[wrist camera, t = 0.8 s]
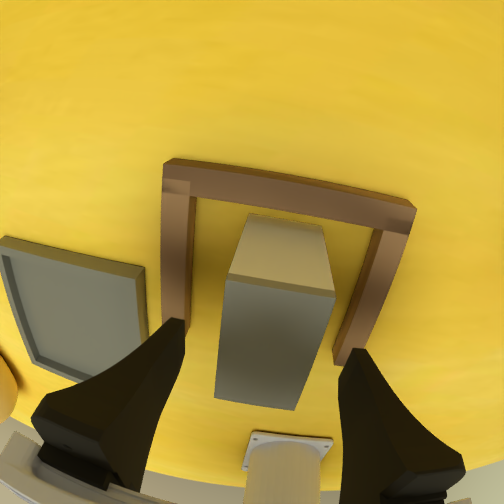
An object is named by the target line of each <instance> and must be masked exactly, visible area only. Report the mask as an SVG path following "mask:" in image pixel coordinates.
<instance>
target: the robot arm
mask: <svg viewBox="0 0 504 504" xmlns="http://www.w3.org/2000/svg"><path fill="white" fill-rule="evenodd" d="M184 355H185V320H183V319H179V318H174V317H171V318H169V319H168V320H167V321H166V322H165V323H164V324H163V325H162V326H161V327H160V328H159V329H158V330H157V331H156V332H155V333H154V334H153V335H151V336H150V337H149V338H148V339H147V340H146V341H145V342H143V343H142V344H141V345H140V346H139V347H138V348H136V349H135V350H134V351H132V352H131V353H130V354H129V355H127V356H126V357H125V358H123V359H122V360H120V361H119V362H118V363H116V364H114V365H113V366H111V367H110V368H108V369H106V370H105V371H103V372H101V373H99V374H98V375H96V376H94V377H92V378H90V379H88V380H85V381H83V382H81V383H78V384H76V385H74V386H71V387H68V388H65V389H62V390H59V391H55V392H52V393H48V394H46V396H45V397H44V398H43V399H42V400H41V402H40V404H39V405H38V407H37V408H36V410H35V412H34V413H33V415H32V416H31V422H32V424H33V426H34V428H35V429H36V431H37V432H38V433H39V435H40V436H41V438H42V439H43V440H44V444H43V445H42V447H41V446H40V445H38V444H37V443H36V442H34V441H32V440H31V439H29V438H27V437H25V436H24V435H22V434H20V433H18V432H17V431H14V433H13V434H12V436H11V438H10V439H9V441H8V443H7V445H6V446H5V448H4V449H3V451H2V453H1V455H0V482H1V483H2V484H3V485H5V487H7V488H8V489H9V490H11V491H12V492H13V493H14V494H16V495H17V496H19V497H20V498H22V499H23V500H25V501H26V502H28V503H29V504H176V503H172V502H169V501H165V500H161V499H158V498H154V497H151V496H148V495H144V494H141V493H140V488H141V484H142V480H143V475H144V471H145V467H146V463H147V459H148V455H149V451H150V448H151V444H152V441H153V437H154V434H155V430H156V427H157V424H158V421H159V418H160V415H161V413H162V410H163V408H164V406H165V404H166V401H167V399H168V397H169V395H170V392H171V390H172V388H173V386H174V383H175V381H176V379H177V377H178V374H179V372H180V368H181V365H182V362H183V358H184ZM338 402H339V411H340V420H341V429H342V438H343V468H342V482H341V491H340V500H339V504H444V499H446V497H447V492H446V490H448V489H449V488H450V487H452V486H453V485H454V484H456V483H457V482H458V481H460V480H461V479H462V478H463V476H464V475H465V473H466V470H465V466H464V462H463V459H462V455H461V454H460V453H458V452H457V451H455V450H453V449H452V448H450V447H449V446H447V445H446V444H444V443H443V442H442V441H441V440H439V439H438V438H437V437H435V436H434V435H433V434H432V433H431V432H429V431H428V430H427V429H426V428H425V427H424V426H423V425H422V424H421V423H420V422H419V421H418V420H417V419H416V418H415V417H414V416H413V415H412V414H411V413H410V412H409V410H408V409H407V408H406V407H405V406H404V405H403V403H402V402H401V401H400V400H399V398H398V397H397V396H396V394H395V393H394V392H393V390H392V389H391V387H390V386H389V384H388V383H387V381H386V380H385V378H384V377H383V375H382V374H381V372H380V371H379V369H378V367H377V366H376V364H375V363H374V361H373V359H372V358H371V356H370V355H369V353H368V352H367V350H366V349H362V348H352V350H351V353H350V355H349V357H348V359H347V361H346V364H345V366H344V368H343V370H342V372H341V374H340V376H339V378H338ZM332 445H333V440H332V439H323V438H310V437H299V436H289V435H281V434H273V433H265V432H258V431H254V432H252V434H251V437H250V440H249V444H248V447H247V451H246V454H245V457H244V461H243V464H242V468H241V469H242V470H243V471H248V473H247V480H246V486H245V493H244V499H243V504H320V462H321V460H322V459H323V457H324V456H325V455H326V453H327V452H328V451H329V449H330V448H331V446H332ZM447 504H472V502H471V498H465V499H461V500H458V501H454V502H450V503H447Z"/></svg>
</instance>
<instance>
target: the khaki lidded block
mask: <svg viewBox="0 0 504 504" xmlns="http://www.w3.org/2000/svg"><path fill="white" fill-rule="evenodd" d="M335 301H336V294H335V289H334V284H333V279H332V273H331V269H330V264H329V259H328V254H327V249H326V245H325V240H324V235H323V231H322V227H321V226H319V225H314V224H309V223H303V222H298V221H292V220H286V219H281V218H275V217H269V216H263V215H257V214H251V213H249V216H248V218H247V221H246V224H245V227H244V230H243V232H242V235H241V238H240V241H239V244H238V246H237V249H236V252H235V255H234V258H233V261H232V263H231V266H230V269H229V272H228V275H227V278H226V282H225V291H224V301H223V310H222V320H221V330H220V339H219V350H218V360H217V370H216V381H215V392H214V398H217V399H222V400H228V401H233V402H239V403H244V404H250V405H256V406H263V407H270V408H277V409H285V410H293V411H294V410H295V408H296V405H297V403H298V400H299V398H300V395H301V393H302V391H303V388H304V386H305V383H306V381H307V378H308V376H309V373H310V370H311V368H312V365H313V363H314V360H315V357H316V355H317V352H318V349H319V347H320V344H321V341H322V338H323V336H324V333H325V330H326V327H327V324H328V321H329V319H330V316H331V313H332V310H333V307H334V304H335Z"/></svg>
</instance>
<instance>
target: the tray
mask: <svg viewBox="0 0 504 504" xmlns="http://www.w3.org/2000/svg"><path fill="white" fill-rule="evenodd" d="M0 272H1V276H2V280H3V283H4V287H5V290H6V293H7V297H8V300H9V303H10V306H11V309H12V312H13V315H14V318H15V321H16V324H17V326H18V329H19V332H20V334H21V337H22V340H23V342H24V345H25V347H26V350H27V352H28V354H29V357H30V359H31V362H32V364H35V365H37V366H39V367H41V368H43V369H46V370H48V371H50V372H52V373H55V374H57V375H59V376H62V377H64V378H66V379H69V380H71V381H74V382H76V383H81V382H83V381H85V380H88V379H90V378H92V377H94V376H96V375H98V374H99V373H101V372H103V371H105V370H106V369H108V368H110V367H111V366H113V365H114V364H116V363H118V362H119V361H120V360H122V359H123V358H125V357H126V356H127V355H129V354H130V353H131V352H132V351H134V350H135V349H136V348H138V347H139V346H140V345H141V344H142V343H143V342H145V341H146V340H147V339H148V338H149V332H148V319H147V305H146V289H145V267H140V266H135V265H130V264H126V263H121V262H116V261H112V260H107V259H102V258H98V257H93V256H89V255H84V254H80V253H75V252H71V251H66V250H62V249H58V248H53V247H49V246H45V245H41V244H37V243H32V242H28V241H24V240H20V239H16V238H12V237H8V236H4V237H3V238H1V239H0Z"/></svg>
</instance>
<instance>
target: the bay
mask: <svg viewBox="0 0 504 504" xmlns="http://www.w3.org/2000/svg"><path fill="white" fill-rule="evenodd" d="M197 197H201V198H208V199H214V200H221V201H227V202H234V203H240V204H246V205H252V206H258V207H264V208H270V209H276V210H282V211H287V212H293V213H298V214H304V215H309V216H315V217H320V218H325V219H331V220H336V221H341V222H346V223H351V224H356V225H361V226H366V227H371V228H374V232H373V235H372V238H371V242H370V245H369V248H368V251H367V254H366V258H365V261H364V264H363V267H362V270H361V273H360V276H359V279H358V282H357V285H356V288H355V291H354V293H353V296H352V299H351V302H350V305H349V307H348V310H347V313H346V316H345V318H344V321H343V324H342V326H341V329H340V331H339V334H338V337H337V339H336V342H335V344H334V347H333V349H332V353H333V362H334V365H337V366H345V364H346V361H347V359H348V357H349V355H350V353H351V350H352V348H362V349H364V347H365V345H366V343H367V341H368V338H369V336H370V334H371V332H372V329H373V327H374V325H375V323H376V320H377V318H378V316H379V313H380V311H381V309H382V306H383V304H384V301H385V299H386V296H387V294H388V292H389V289H390V286H391V284H392V281H393V279H394V276H395V273H396V271H397V268H398V265H399V263H400V260H401V257H402V254H403V251H404V249H405V246H406V243H407V240H408V237H409V234H410V231H411V228H412V224H413V221H414V218H415V215H416V212H417V208H416V207H414V206H413V205H412V204H411V203H410V202H409V201H408V200H405V199H401V198H397V197H393V196H389V195H385V194H380V193H376V192H372V191H367V190H363V189H359V188H354V187H349V186H345V185H340V184H335V183H330V182H325V181H320V180H315V179H310V178H304V177H299V176H294V175H288V174H282V173H276V172H270V171H264V170H258V169H252V168H245V167H238V166H231V165H224V164H217V163H209V162H201V161H193V160H185V159H176V158H173V159H171V160H169V161H167V162H165V163H164V164H163V177H162V200H161V308H162V325H163V324H164V323H165V322H166V321H167V320H168V319H169V318H171V317H174V318H179V319H183V320H185V337H186V334H187V332H188V329H189V327H190V307H191V281H192V260H193V242H194V226H195V212H196V198H197Z"/></svg>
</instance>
